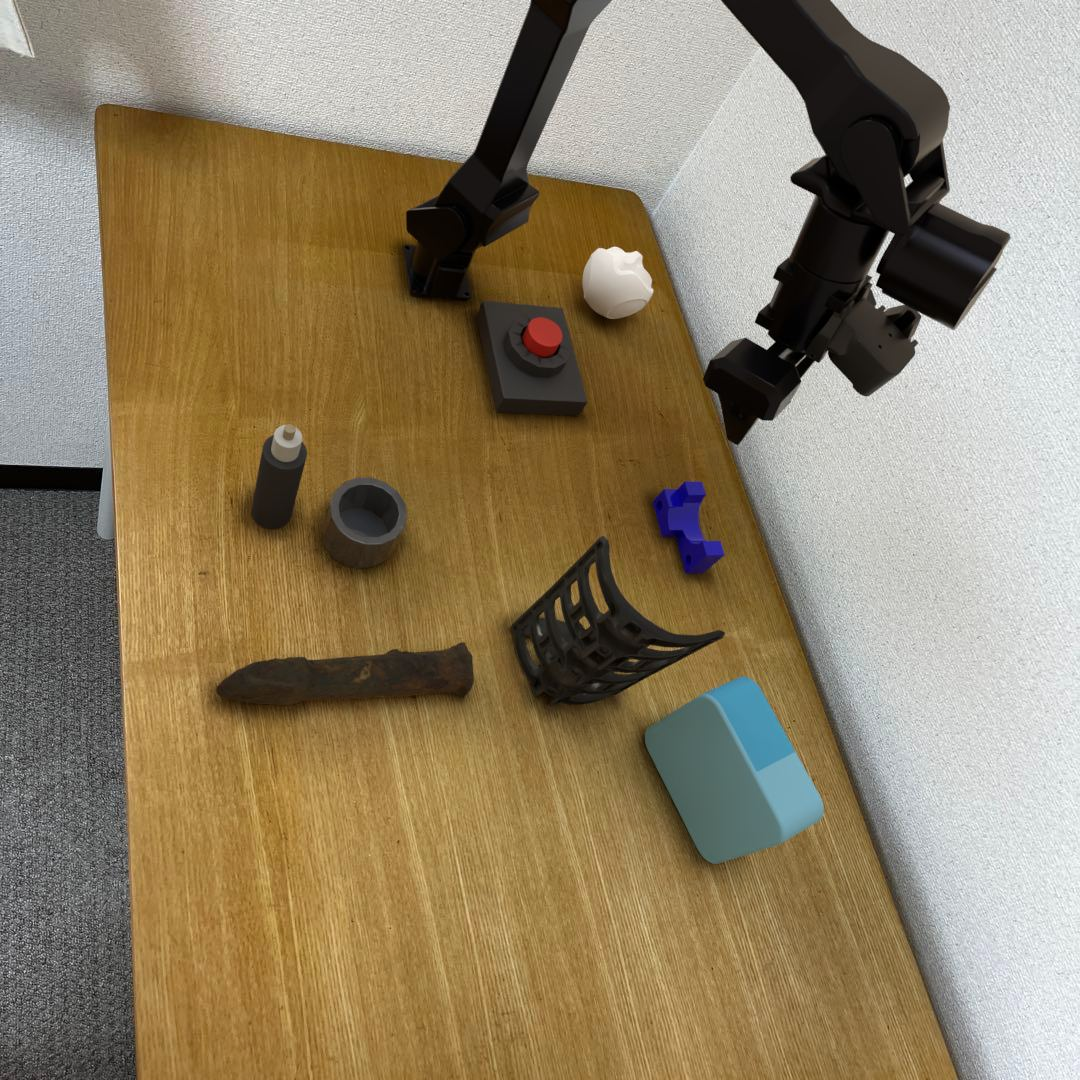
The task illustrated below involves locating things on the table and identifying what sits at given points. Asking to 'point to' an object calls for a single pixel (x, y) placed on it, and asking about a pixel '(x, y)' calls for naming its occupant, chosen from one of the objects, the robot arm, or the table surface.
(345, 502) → the iron cup
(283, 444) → the capped grey cylinder
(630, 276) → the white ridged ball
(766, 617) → the table surface
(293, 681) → the hand tool
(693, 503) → the cable holder
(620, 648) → the holder
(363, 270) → the table surface
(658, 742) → the data package
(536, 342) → the power button
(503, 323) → the switch box
